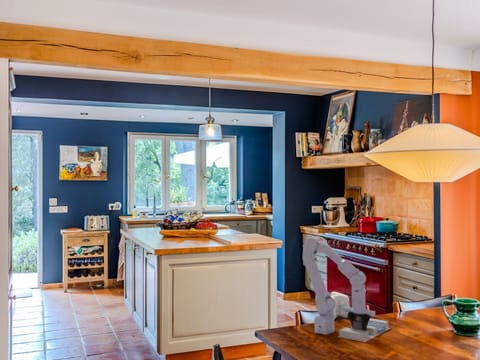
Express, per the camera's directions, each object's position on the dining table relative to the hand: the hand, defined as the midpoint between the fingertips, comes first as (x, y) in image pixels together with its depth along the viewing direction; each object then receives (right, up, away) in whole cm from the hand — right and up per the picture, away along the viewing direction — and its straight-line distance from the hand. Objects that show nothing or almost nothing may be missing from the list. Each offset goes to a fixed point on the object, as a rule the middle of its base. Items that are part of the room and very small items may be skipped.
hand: (359, 330), depth 214 cm
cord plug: (0, -2, 0) cm, 2 cm away
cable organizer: (-4, -4, +36) cm, 37 cm away
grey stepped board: (+3, -3, +4) cm, 6 cm away
